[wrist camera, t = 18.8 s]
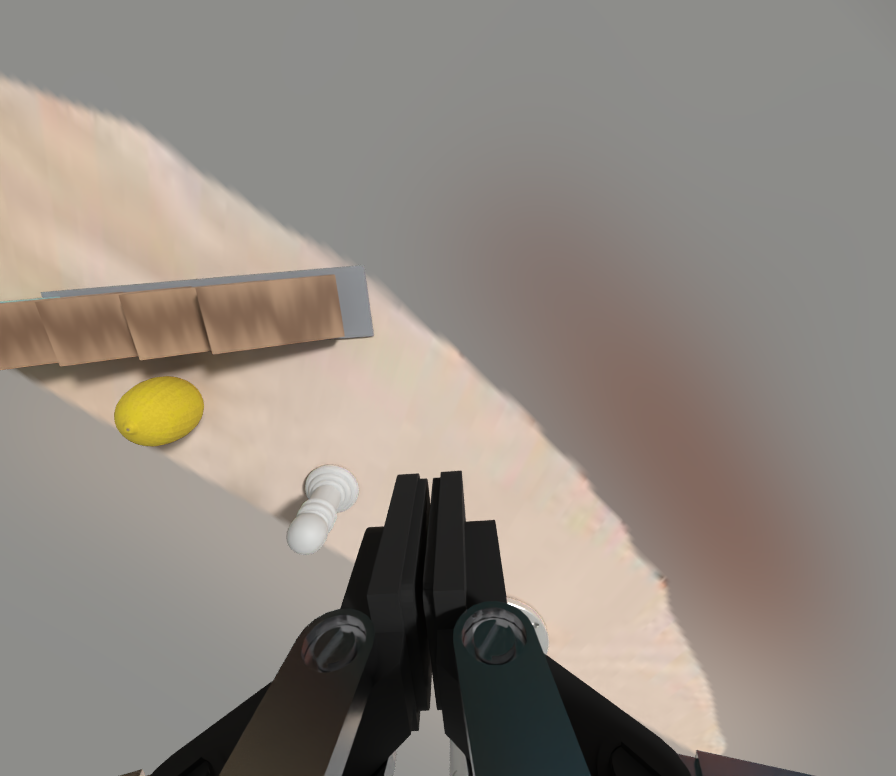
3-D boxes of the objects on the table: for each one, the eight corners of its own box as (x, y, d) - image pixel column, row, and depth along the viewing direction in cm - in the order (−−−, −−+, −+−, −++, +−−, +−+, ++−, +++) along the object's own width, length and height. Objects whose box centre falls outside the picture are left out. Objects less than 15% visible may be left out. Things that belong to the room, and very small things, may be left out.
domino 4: (344, 336, 35) (212, 354, 32) (342, 332, 36) (217, 349, 34) (335, 274, 33) (195, 287, 30) (333, 274, 35) (200, 286, 32)
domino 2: (201, 347, 35) (60, 366, 32) (207, 343, 37) (73, 360, 34) (185, 287, 34) (34, 301, 31) (191, 286, 35) (49, 299, 33)
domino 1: (133, 352, 35) (-14, 371, 33) (141, 348, 37) (2, 366, 34) (113, 293, 34) (-44, 307, 31) (123, 291, 36) (-24, 305, 33)
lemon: (199, 432, 40) (139, 475, 33) (149, 393, 39) (76, 429, 31) (232, 394, 39) (178, 430, 31) (182, 353, 38) (114, 380, 30)
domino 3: (275, 342, 35) (139, 360, 32) (277, 337, 37) (149, 355, 34) (262, 280, 33) (118, 295, 31) (264, 279, 35) (129, 293, 32)
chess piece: (299, 495, 42) (259, 557, 34) (319, 454, 41) (283, 508, 32) (347, 516, 43) (320, 583, 34) (368, 477, 41) (346, 536, 33)
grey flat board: (373, 335, 37) (373, 335, 36) (69, 358, 38) (66, 359, 38) (363, 265, 35) (363, 265, 35) (43, 292, 36) (40, 292, 36)
